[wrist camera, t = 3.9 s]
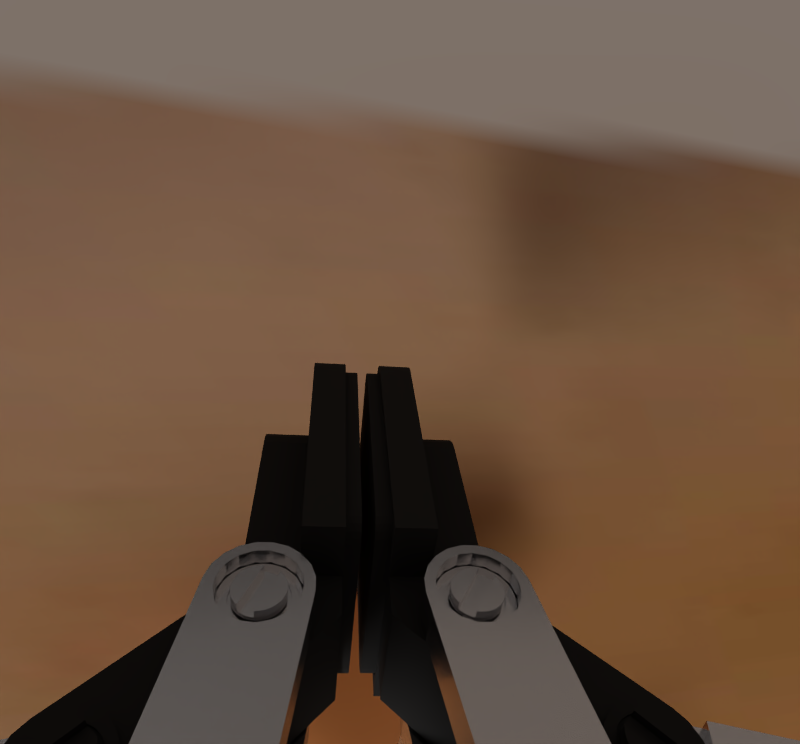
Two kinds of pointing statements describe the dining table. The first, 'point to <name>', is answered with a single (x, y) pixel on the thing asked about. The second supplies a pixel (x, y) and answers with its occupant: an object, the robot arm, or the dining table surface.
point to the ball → (355, 708)
